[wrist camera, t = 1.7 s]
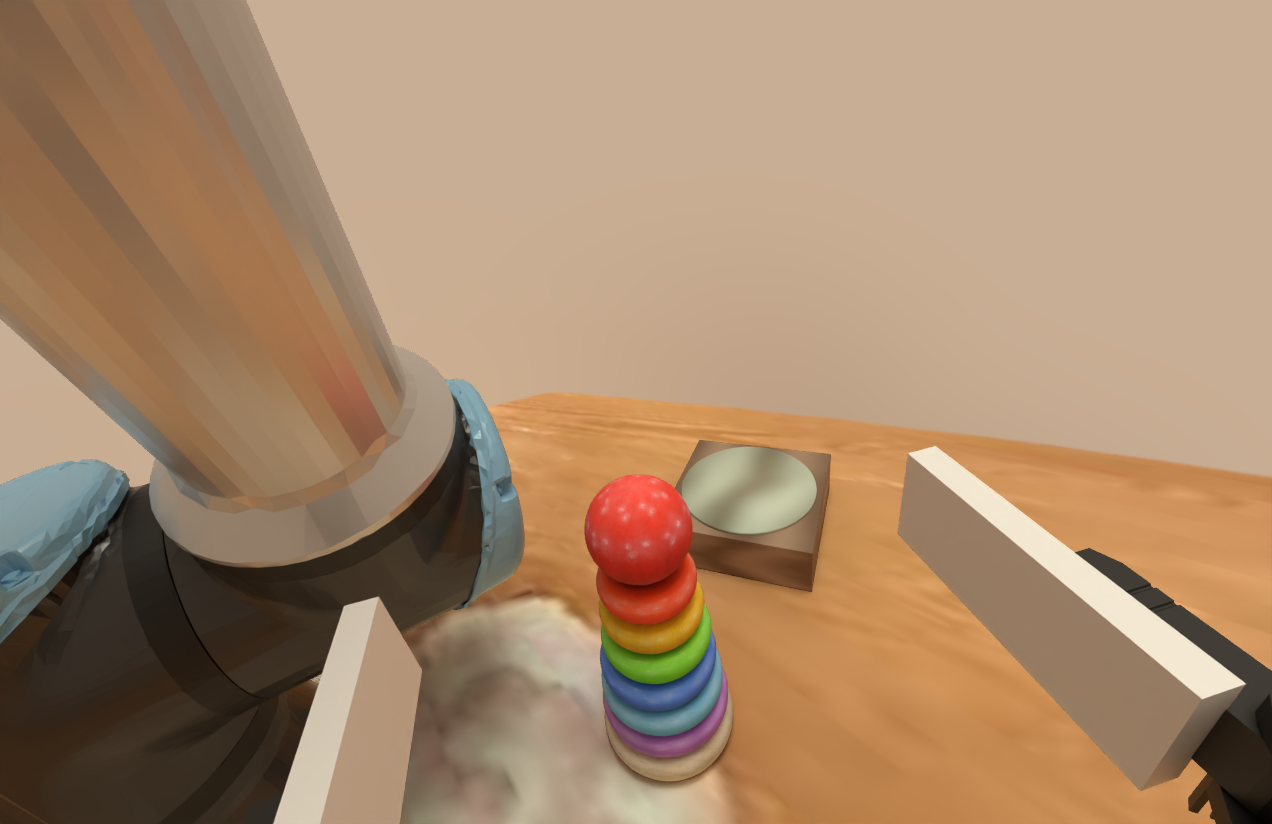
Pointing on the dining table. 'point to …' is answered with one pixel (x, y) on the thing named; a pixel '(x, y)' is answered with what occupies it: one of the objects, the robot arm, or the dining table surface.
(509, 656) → the dining table surface
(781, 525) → the walnut plinth
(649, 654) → the stacking toy
